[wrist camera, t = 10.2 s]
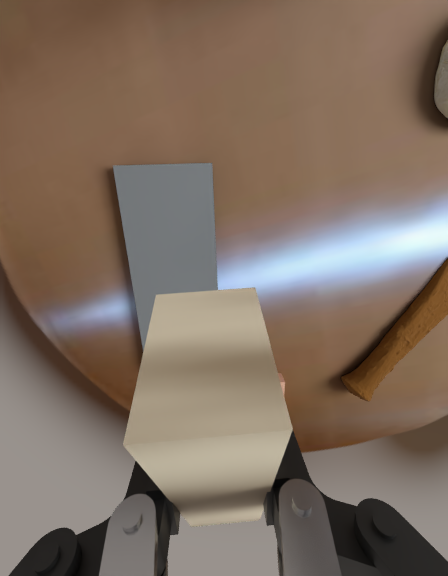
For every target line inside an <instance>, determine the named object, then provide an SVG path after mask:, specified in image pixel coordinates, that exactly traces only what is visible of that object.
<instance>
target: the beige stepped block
mask: <svg viewBox="0 0 448 576" xmlns="http://www.w3.org/2000/svg"><path fill="white" fill-rule="evenodd" d="M292 430H293V429H292V425H291V421H290V418H289V414H288V410H287V406H286V402H285V399H284V395H283V391H282V387H281V383H280V380H279V376H278V372H277V368H276V365H275V361H274V357H273V353H272V349H271V346H270V342H269V338H268V334H267V330H266V327H265V323H264V319H263V315H262V312H261V308H260V304H259V300H258V296H257V293H256V289H255V288H242V289H228V290H214V291H200V292H186V293H172V294H158V295H156V297H155V302H154V306H153V311H152V315H151V320H150V324H149V329H148V334H147V338H146V343H145V347H144V352H143V356H142V361H141V366H140V370H139V375H138V379H137V384H136V388H135V393H134V398H133V402H132V407H131V411H130V416H129V421H128V425H127V430H126V435H125V439H124V444H123V446H124V447H125V448H126V449H127V450H128V452H129V453H130V454H131V455H132V456H133V457H134V459H135V460H136V461H137V462H138V464H139V465H140V466H141V467H142V468H143V470H144V471H145V472H146V473H147V474H148V476H149V477H150V478H151V479H152V480H153V482H154V483H155V484H156V485H157V486H158V488H159V489H160V490H161V491H162V492H163V493H164V495H165V496H166V497H167V498H168V499H169V501H170V502H172V503H173V504H174V505H175V506H176V508H177V509H178V510H179V511H180V514H181V515H182V516H183V517H184V519H186V521H187V522H188V523H189V525H190V526H191V527H197V526H207V525H217V524H226V523H236V522H246V521H256V520H260V518H261V515H262V513H263V510H264V506H263V503H264V500H265V497H266V494H267V492H270V491H271V488H272V485H273V482H274V480H275V477H276V474H277V472H278V469H279V466H280V463H281V461H282V458H283V455H284V452H285V450H286V447H287V444H288V441H289V439H290V436H291V433H292Z"/></svg>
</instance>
